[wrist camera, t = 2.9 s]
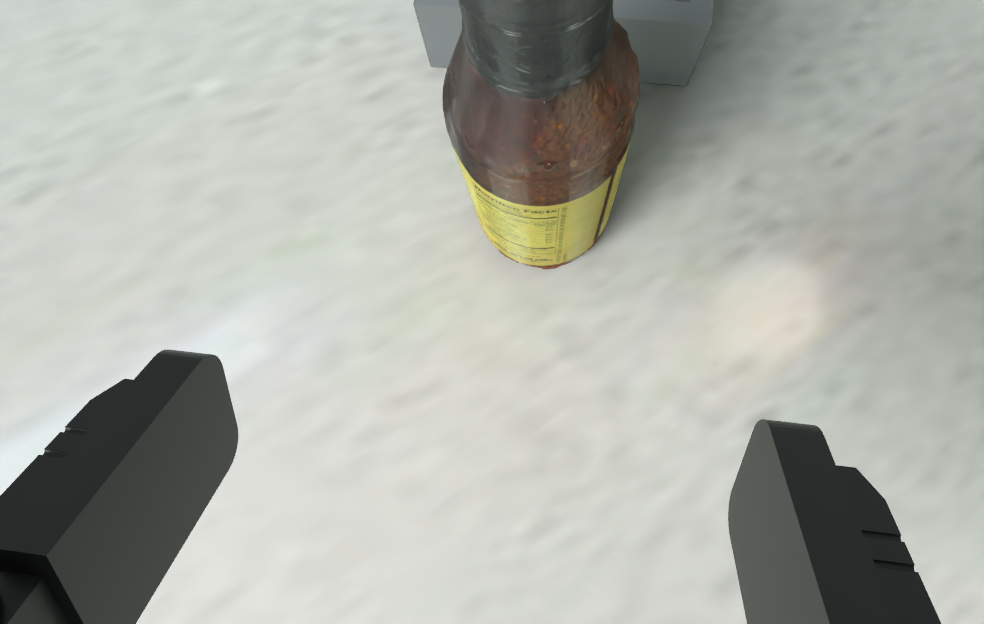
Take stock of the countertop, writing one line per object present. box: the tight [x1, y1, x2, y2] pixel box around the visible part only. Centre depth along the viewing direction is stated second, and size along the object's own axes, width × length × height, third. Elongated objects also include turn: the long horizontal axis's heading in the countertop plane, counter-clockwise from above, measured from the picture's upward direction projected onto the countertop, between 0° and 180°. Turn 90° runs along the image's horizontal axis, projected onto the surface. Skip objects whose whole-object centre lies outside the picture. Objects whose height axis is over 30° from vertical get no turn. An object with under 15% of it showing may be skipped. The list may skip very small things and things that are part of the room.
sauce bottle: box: [443, 0, 640, 269], centre depth 23 cm, size 7×6×20 cm
